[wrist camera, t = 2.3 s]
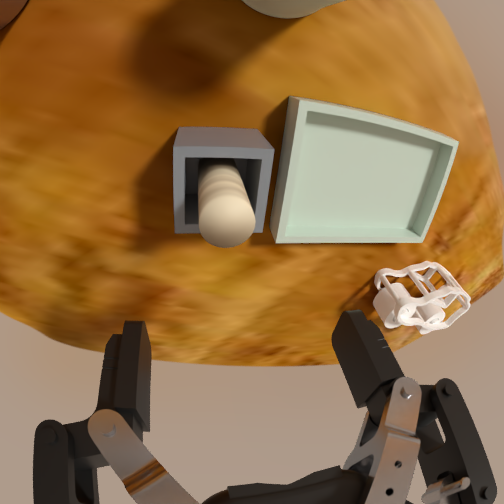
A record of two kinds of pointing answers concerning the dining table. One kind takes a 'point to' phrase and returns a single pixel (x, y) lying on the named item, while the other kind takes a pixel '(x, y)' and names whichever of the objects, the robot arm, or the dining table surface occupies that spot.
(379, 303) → the white wireframe roller cage
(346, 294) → the dining table surface
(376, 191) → the tray
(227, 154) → the deep cup
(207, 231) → the dowel pin
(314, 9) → the can
